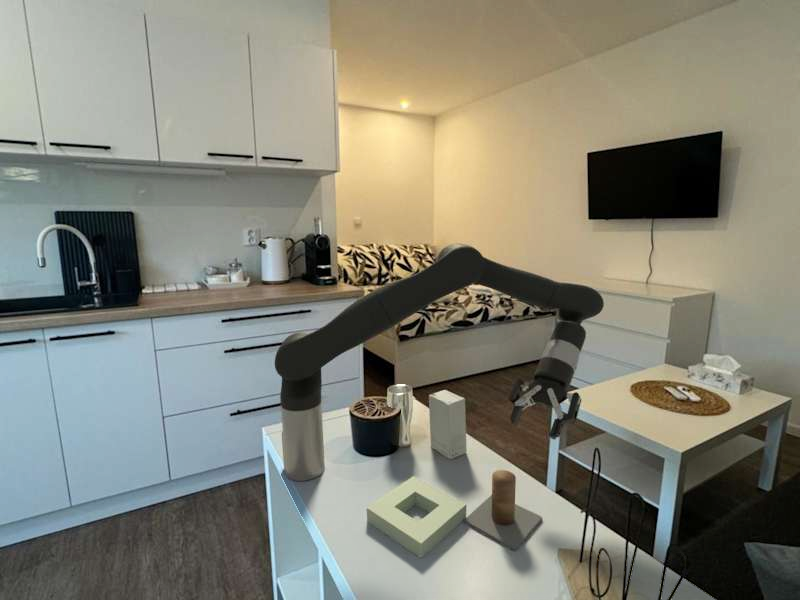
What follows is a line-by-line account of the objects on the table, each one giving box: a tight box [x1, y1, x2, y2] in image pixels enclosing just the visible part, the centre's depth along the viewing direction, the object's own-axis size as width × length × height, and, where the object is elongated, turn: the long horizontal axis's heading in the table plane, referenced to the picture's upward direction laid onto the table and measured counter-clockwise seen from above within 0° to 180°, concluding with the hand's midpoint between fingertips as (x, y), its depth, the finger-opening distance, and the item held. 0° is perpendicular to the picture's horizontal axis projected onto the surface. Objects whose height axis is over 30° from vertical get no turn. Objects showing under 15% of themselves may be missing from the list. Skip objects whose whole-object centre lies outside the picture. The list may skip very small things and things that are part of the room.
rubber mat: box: [463, 494, 543, 552], centre depth 83 cm, size 11×11×1 cm
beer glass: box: [386, 383, 414, 448], centre depth 112 cm, size 7×7×15 cm
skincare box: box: [428, 389, 467, 460], centre depth 108 cm, size 8×6×15 cm
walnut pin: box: [491, 469, 517, 526], centre depth 82 cm, size 4×4×9 cm
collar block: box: [366, 475, 467, 559], centre depth 83 cm, size 14×14×3 cm
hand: (532, 431), depth 88 cm, fingers open, 8 cm apart
